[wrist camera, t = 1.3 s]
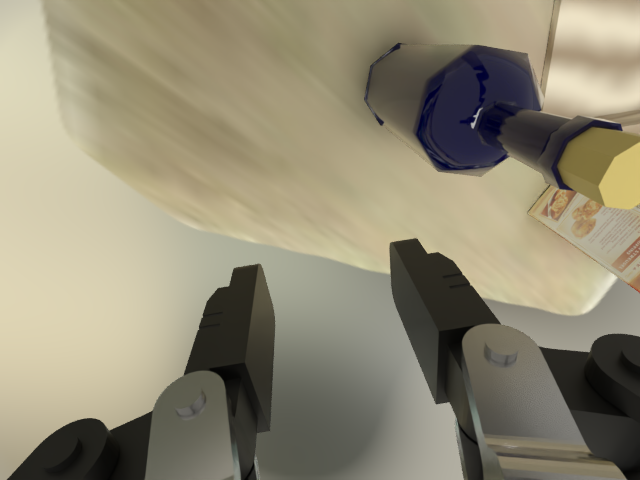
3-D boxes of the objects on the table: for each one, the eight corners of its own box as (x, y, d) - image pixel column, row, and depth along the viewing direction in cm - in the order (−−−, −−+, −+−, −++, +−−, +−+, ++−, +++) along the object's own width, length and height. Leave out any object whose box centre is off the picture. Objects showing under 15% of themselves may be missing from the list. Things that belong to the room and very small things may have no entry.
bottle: (460, 72, 39) (819, 128, 13) (410, 144, 42) (608, 305, 16) (395, 22, 36) (684, -40, 10) (347, 104, 39) (464, 221, 13)
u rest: (558, -23, 35) (605, -35, 30) (695, -46, 35) (767, -61, 30) (532, 136, 43) (566, 149, 38) (644, 118, 43) (693, 128, 38)
